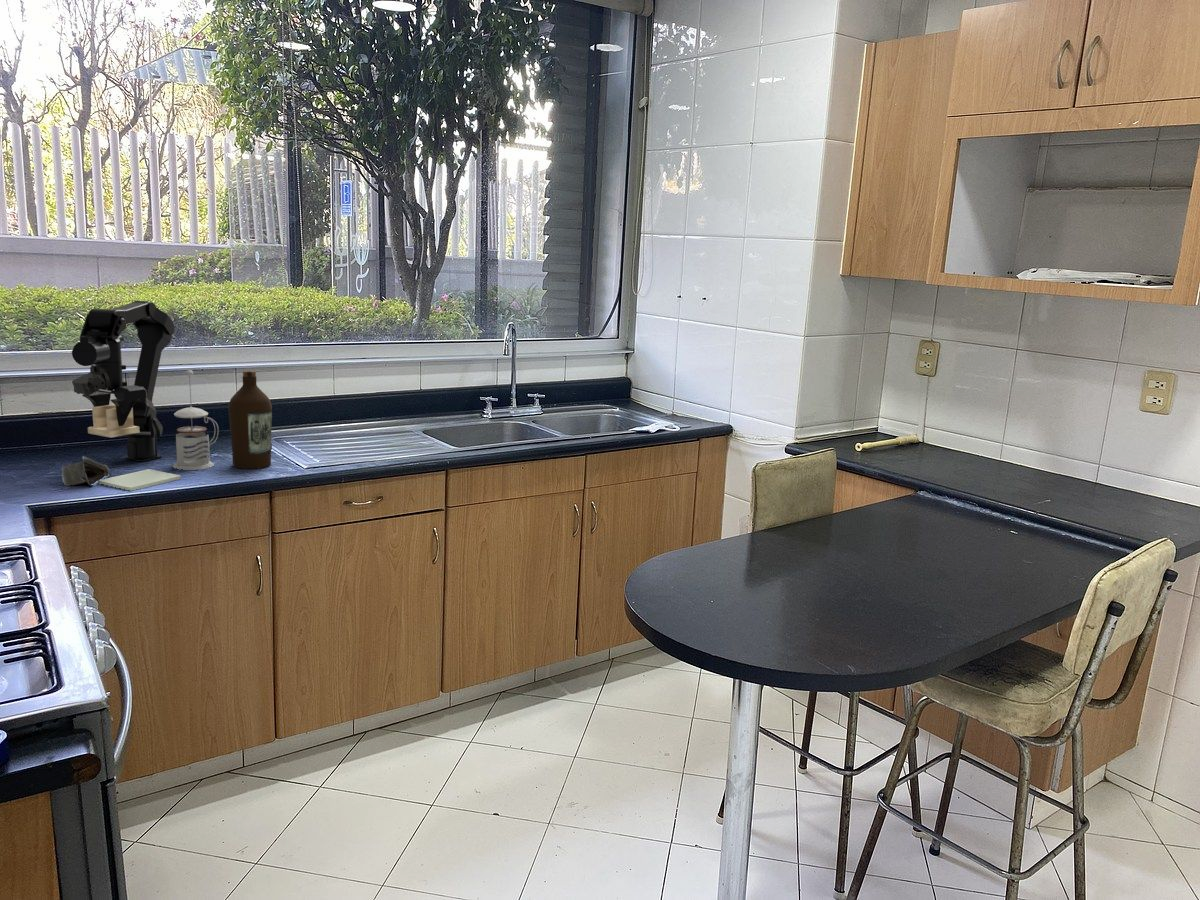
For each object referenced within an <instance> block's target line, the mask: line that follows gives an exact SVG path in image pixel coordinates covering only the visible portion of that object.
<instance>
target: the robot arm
mask: <svg viewBox="0 0 1200 900" xmlns="http://www.w3.org/2000/svg"><path fill="white" fill-rule="evenodd" d="M83 323H84V324H83V326H82V330H81V332H80V335H79V341H78V342H77V343H76V344H74V346H73V348H72V350H71V356H72V358H73V360H74V361H75V362H76V364H78V365H80V366H83V367H89V372H88V373H86V374H83V375H81V376H79V377H77V378H75V379H73V380H71V383H72V386H73V392H74V393H76V394H77V395H81V396H82V398H83V397H84V398H86V399H87V400H88V401H90V403H91V404H92V407H98V406H105V405H110V402H112V404H115V406H116V412H117V420H118V424H119V426H123V425H124V424H125V422H126V420H127V417H128V415H129V413H130V411H131V409H132V407H133V423H134V426H139V430H140V433H134V434H128V435H123V436H122V437H127V442H126V449H127V451H126V452H127V455H126V456H124V459H126V460H131V461H137V462H145V461H146V462H147V461H151V460H155V459H160V458H162V457H163V456H162V454H161V455H160V454H158V441H157V440H158V439H157V438H160V437H162V435H163V428H164V427H163V424H162V423H161V422H160V420H159V419H158V418H157V414H158V412H157V409H156V408H155V405H154V403H153V397H154V393H155V387H156V382H157V376H158V371H159V366H160V362H161V356H162V352H163V350H164V349H165V348H166V347H168V346H169V344H170V343H171V341H172V337H173V335H174V333H175V324H174V322H173V320H172V319H171V317H170V316H169V314H168V313H166V312H164V311H163V310H161V309H160V308H158V307H157V306H156V305H155V303H154V302H152V301H147V300H145V301H144V300H134V301H132V302H130V303H127V304H124V305H123V304H122V305H120V306H117V307H114V308H92V309H90V310H89V311H88V313H87V314H86V316H85V320H84V322H83ZM131 323H132V325H133V326H134V328H135V329H136V330H137V333H136V334H137V337H138V340H139V342H140V344H141V347H140V348H141V349H140V354H139V357H138V358H139V359H138V364H137V368H136V372H135V379H134V382H133V384H131V385H128V382H127V381H125V380H124V381H123V377H124V376H123V370H127V365H125V364H123V362H122V361H123V360H122V347H121V346H122V345H121V342H124V340H125V338H124V337H123V336H122V335H121V334H122V332H124V331H125V330H126V329H127V325H129V324H131ZM111 395H114V397H115V398H113V399H111Z"/></svg>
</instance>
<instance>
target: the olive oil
mask: <svg viewBox="0 0 1200 900" xmlns="http://www.w3.org/2000/svg"><path fill="white" fill-rule="evenodd" d="M228 419H229V430H230V444H231V453H232V454H231V456H232V457H231V459H232V466H233V467H234V468H236V469H241V470H256V469H258V470H259V469H264V468H268V467H270V466H271V465H272V462H271V461H272V449H273V444H272V423H273V405H272V402H271V400H270V398H269V396H267V394H266V393H264V391H262V389H260V388H259V386H258V385H257V371H255V370H250V369H249V370H247V369H246V370H243V371H242V386H241V387H240V388H238V390H237V391H236V392H235V393H234V395H233V396H232V397H231V398H230V400H229V403H228Z"/></svg>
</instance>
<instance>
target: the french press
mask: <svg viewBox="0 0 1200 900" xmlns="http://www.w3.org/2000/svg"><path fill="white" fill-rule="evenodd" d="M185 375H186V376H188V377H189V378H188V379H189V380H188V381H189V382H191V376H194V371H193V370H191V369H189V370H185ZM191 386H192V385H191V384H189V397H190V398H189V399H190V404H192V392H191V391H192V389H191ZM173 415H174V417H176V418H180V419H190V421H191V426H190V425H187V426H182V427H178V428H177V429H176V431H177V432H178V433H176V434H175V445H176V462H175V463H174V464H173V465H174V466H172V468H174V469H176V468H177V469H176V470H181V469H183V470H184V471H196V470H197V469H198V470H204V469H205V470H206V469H210V468H211V467H214V466H215V464H214V463H213V462H212V461H211V459H210V458H211V457H210V452H211V451H210V446H212V445H213V444H215V443H216V441H217V440H218V438H219V434H220V431H219V430H220V428H219V425H218V423H217V421H216V420H214V419H213V418H211V417H208V415H209V412H208V411H206V410H204V409H202V408H199V407H194V406H189V407H185V408H181V409H179V410H177V411H176V412H174V413H173ZM199 418H200V419H201V418H203V421H204V423H205V424H208V423H209V421H210V422H212V424H213V427H214V428H213V429H214V433H213V436H212V438H211V440H210V437H209V433H206V431H207V430H208V428H207V427H205V426H200V425H199V426H198V425H193V419H199ZM216 428H217V430H216ZM216 431H217V434H216ZM189 436H190V437H189ZM215 436H216V438H215ZM213 440H214V441H213ZM212 441H213V442H212ZM186 447H187V448H186ZM193 451H194V452H193ZM186 452H187V453H186ZM209 467H210V468H209ZM183 470H182V471H183Z"/></svg>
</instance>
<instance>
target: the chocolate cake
mask: <svg viewBox="0 0 1200 900" xmlns="http://www.w3.org/2000/svg"><path fill="white" fill-rule="evenodd" d="M81 457H82V460H81V461H79V462H75V463H71V464H66V465H63V466H62V467H61V471H62V472H61V474H60V476H61V478H62V482H63V483H64V486H65V485H66V486H65V487H71V486H70V485H72V486H76V485H80V484H85V483H87V484H88V486H91V487H93V486H92V485H91V484H94V483H95V482H96V481H98V480H100V479H102V478H103V477H104V476H109V477H110V476H111V473H110V468H109V467H108V465H106V464H104V463H101V462H99V461H96V460H94V459H92V458H90V457H87V456H85V455H82V456H81ZM67 485H68V486H67Z"/></svg>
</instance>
